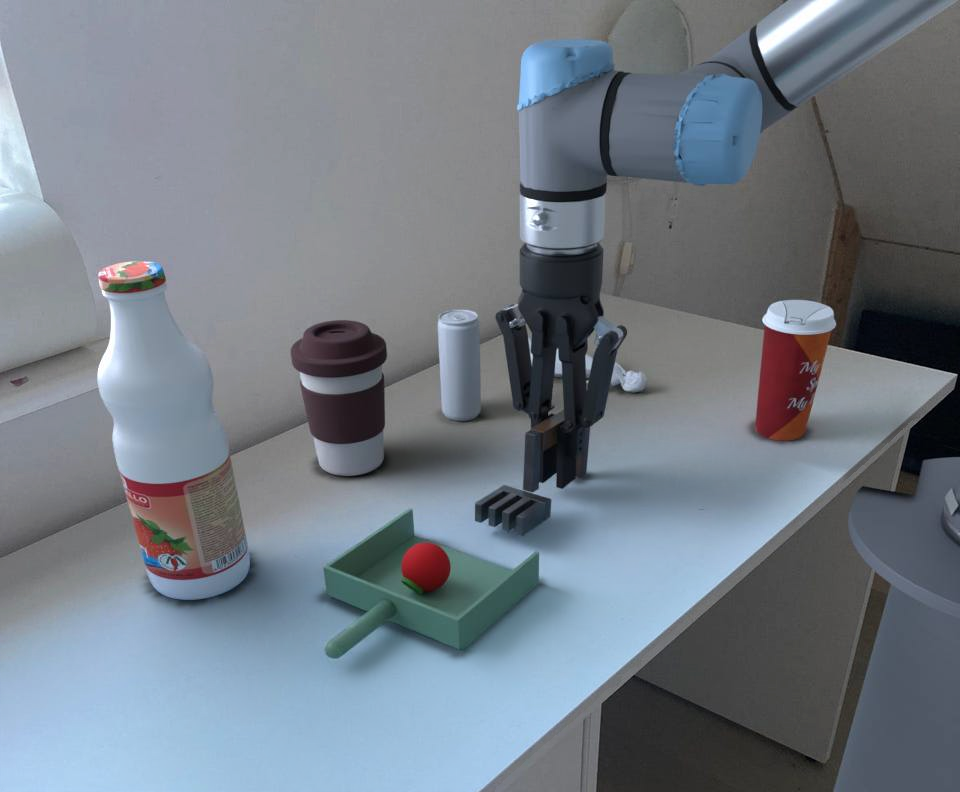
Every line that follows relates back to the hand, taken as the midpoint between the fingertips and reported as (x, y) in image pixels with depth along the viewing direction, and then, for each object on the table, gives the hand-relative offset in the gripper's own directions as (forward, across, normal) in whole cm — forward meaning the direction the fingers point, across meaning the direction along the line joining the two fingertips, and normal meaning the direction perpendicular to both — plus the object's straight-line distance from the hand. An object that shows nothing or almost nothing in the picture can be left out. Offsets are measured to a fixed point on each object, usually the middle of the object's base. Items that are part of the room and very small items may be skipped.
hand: (556, 479), depth 101 cm
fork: (+1, 0, -3) cm, 3 cm away
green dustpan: (+2, 0, -25) cm, 25 cm away
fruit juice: (+2, -20, -31) cm, 37 cm away
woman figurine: (+2, -13, +28) cm, 31 cm away
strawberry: (-1, -1, -21) cm, 21 cm away
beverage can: (+2, -20, +11) cm, 23 cm away
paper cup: (+2, +14, +27) cm, 31 cm away
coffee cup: (+2, -23, -6) cm, 24 cm away
